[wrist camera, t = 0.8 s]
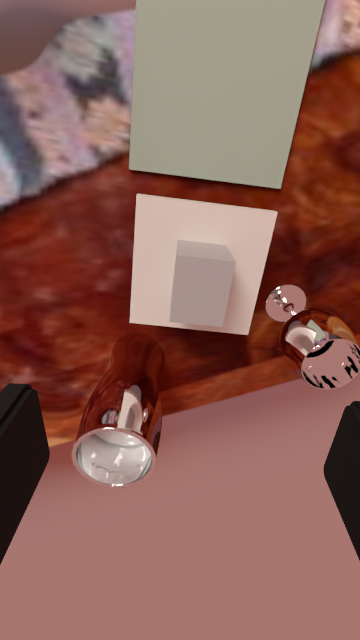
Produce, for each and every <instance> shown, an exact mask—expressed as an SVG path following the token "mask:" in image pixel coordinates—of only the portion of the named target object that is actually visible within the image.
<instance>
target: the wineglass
mask: <svg viewBox="0 0 360 640" xmlns="http://www.w3.org/2000/svg"><path fill="white" fill-rule="evenodd" d="M305 306H306V295H305V293H304V292H303V290H302V289H301V288H299V287H298V286H295V285H289V284H288V285H282V286H279V287H277V288H276V289H274V290H273V291H272V292H271V293H270V294H269V296H268V297H267V300H266V304H265V308H266V312H267V314H268V315H269V316H270V317H271V318H272V319H274V320H276V321H279V322H285V324H284V325H283V327H282V329H281V332H280V337H279V343H280V348H281V352H282V354H283V357H284V359H285V360H286V362H287V363H288V365H289V366H290V367H291V368H292V370H293V371H294V372H295V373H296V374H297V375H298V376H300V377H301V378H302V379H303V380H304V381H305V382H307V383H308V384H309V385H311V386H313V387H315V388H318V389H324V390H325V389H326V390H328V389H335V388H338V387H341V386H343V385H345V384H347V383H349V382H350V381H351V380H352V379H354V378H355V377H356V376H357V374H358V373H359V371H360V346H359V343H358V341H357V339H356V337H355V335H354V334H353V332H352V331H351V329H350V328H349V326H348V325H347V324H346V323H345V322H344V321H343V320H342V319H341V318H340V317H339V316H337V315H335V314H334V313H332V312H330V311H327V310H325V309H319V308H309V309H305Z"/></svg>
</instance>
